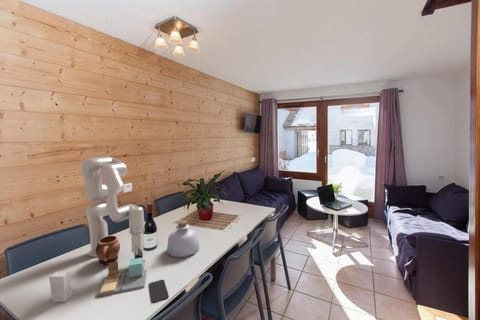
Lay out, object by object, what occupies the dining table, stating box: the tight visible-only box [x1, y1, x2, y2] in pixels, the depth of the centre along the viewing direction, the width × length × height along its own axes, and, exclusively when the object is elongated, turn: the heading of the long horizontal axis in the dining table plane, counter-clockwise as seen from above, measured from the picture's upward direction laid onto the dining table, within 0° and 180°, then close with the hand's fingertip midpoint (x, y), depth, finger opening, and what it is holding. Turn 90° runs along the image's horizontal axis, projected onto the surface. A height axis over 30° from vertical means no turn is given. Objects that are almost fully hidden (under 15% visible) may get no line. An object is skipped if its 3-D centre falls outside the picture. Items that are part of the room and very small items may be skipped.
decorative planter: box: [96, 234, 121, 266], centre depth 131 cm, size 20×12×14 cm, turn 25°
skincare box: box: [48, 270, 73, 303], centre depth 102 cm, size 6×4×12 cm
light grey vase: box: [166, 219, 200, 258], centre depth 145 cm, size 20×20×19 cm
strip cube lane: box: [129, 249, 146, 278], centre depth 123 cm, size 15×6×7 cm, turn 18°
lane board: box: [96, 269, 148, 297], centre depth 113 cm, size 14×20×2 cm
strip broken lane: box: [104, 260, 122, 284], centre depth 114 cm, size 7×6×7 cm
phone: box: [148, 279, 170, 304], centre depth 107 cm, size 7×1×15 cm
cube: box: [128, 257, 144, 277], centre depth 118 cm, size 6×6×6 cm
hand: (139, 260), depth 129 cm, fingers closed on strip cube lane, 2 cm apart
